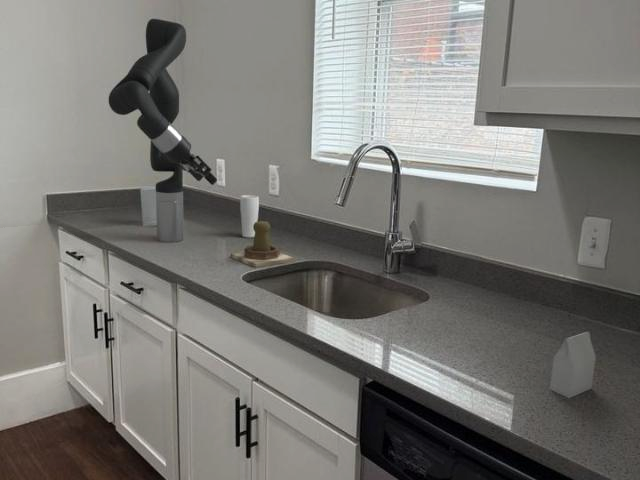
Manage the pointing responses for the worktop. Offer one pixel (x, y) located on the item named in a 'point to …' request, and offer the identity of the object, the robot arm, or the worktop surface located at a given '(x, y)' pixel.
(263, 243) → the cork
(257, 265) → the board
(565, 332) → the worktop surface
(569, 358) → the milk carton
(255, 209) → the drinking glass
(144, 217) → the skincare box
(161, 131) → the robot arm
